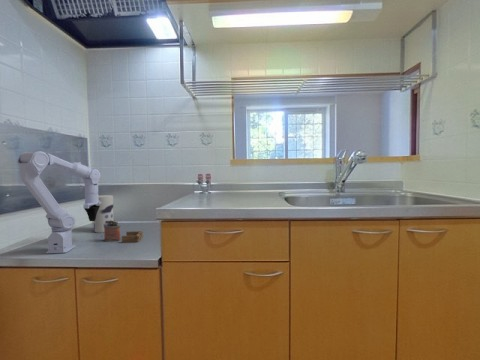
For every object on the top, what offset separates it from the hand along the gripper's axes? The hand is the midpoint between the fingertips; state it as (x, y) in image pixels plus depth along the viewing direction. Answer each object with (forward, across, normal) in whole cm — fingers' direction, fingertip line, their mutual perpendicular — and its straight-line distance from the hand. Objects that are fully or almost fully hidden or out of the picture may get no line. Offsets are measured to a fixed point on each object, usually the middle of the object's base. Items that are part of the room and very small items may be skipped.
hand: (92, 220), depth 128 cm
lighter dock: (+10, 0, -19) cm, 21 cm away
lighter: (+10, 0, -9) cm, 14 cm away
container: (+10, +22, +2) cm, 24 cm away
